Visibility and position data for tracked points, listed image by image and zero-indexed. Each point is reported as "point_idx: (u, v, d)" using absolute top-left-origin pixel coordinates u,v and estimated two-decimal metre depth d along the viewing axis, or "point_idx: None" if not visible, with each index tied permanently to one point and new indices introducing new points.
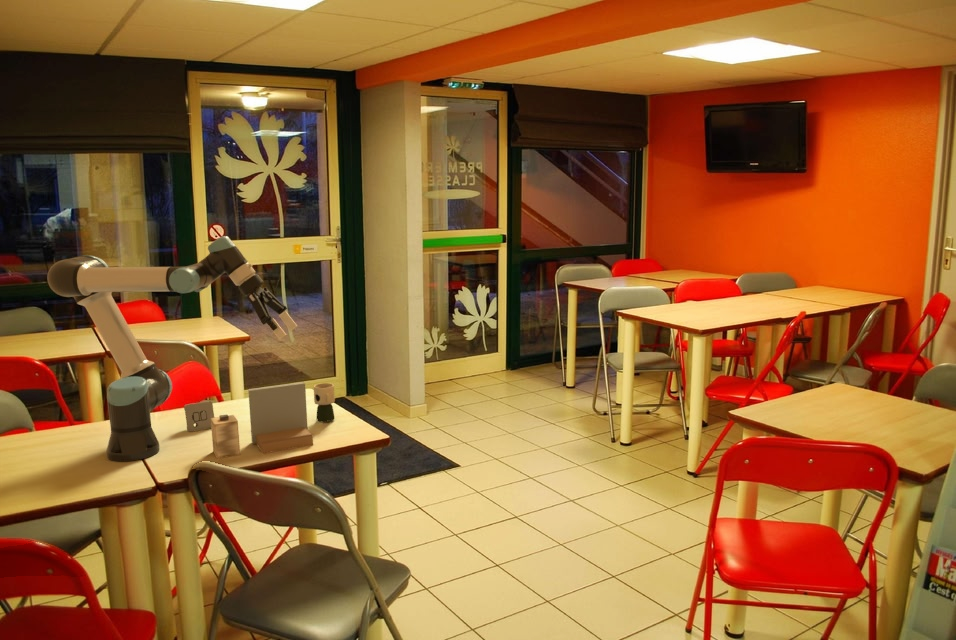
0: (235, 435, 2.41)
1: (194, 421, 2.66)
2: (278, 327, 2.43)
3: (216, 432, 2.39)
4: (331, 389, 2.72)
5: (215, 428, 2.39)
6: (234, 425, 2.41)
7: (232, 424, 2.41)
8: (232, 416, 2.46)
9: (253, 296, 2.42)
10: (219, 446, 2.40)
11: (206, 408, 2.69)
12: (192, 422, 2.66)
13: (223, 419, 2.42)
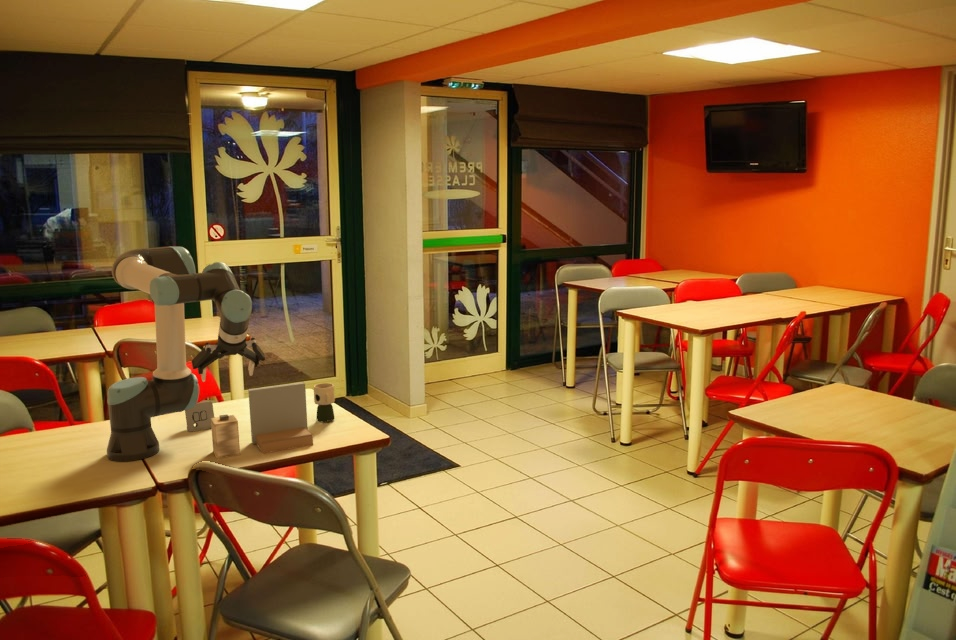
0: (235, 435, 2.41)
1: (194, 421, 2.66)
2: (202, 374, 2.25)
3: (216, 432, 2.39)
4: (331, 389, 2.72)
5: (215, 428, 2.39)
6: (234, 425, 2.41)
7: (232, 424, 2.41)
8: (232, 416, 2.46)
9: (206, 350, 2.16)
10: (219, 446, 2.40)
11: (206, 408, 2.69)
12: (192, 422, 2.66)
13: (223, 419, 2.42)
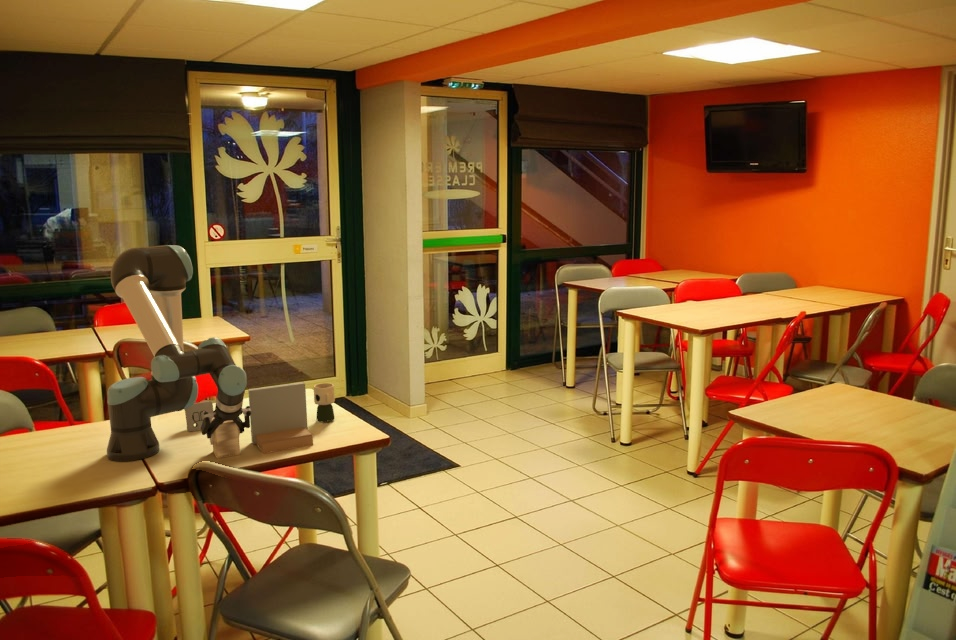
0: (235, 435, 2.41)
1: (194, 421, 2.66)
2: (211, 439, 2.43)
3: (216, 432, 2.39)
4: (331, 389, 2.72)
5: None
6: (234, 425, 2.41)
7: (232, 424, 2.41)
8: None
9: (205, 419, 2.32)
10: (219, 446, 2.40)
11: (206, 408, 2.69)
12: (192, 422, 2.66)
13: None
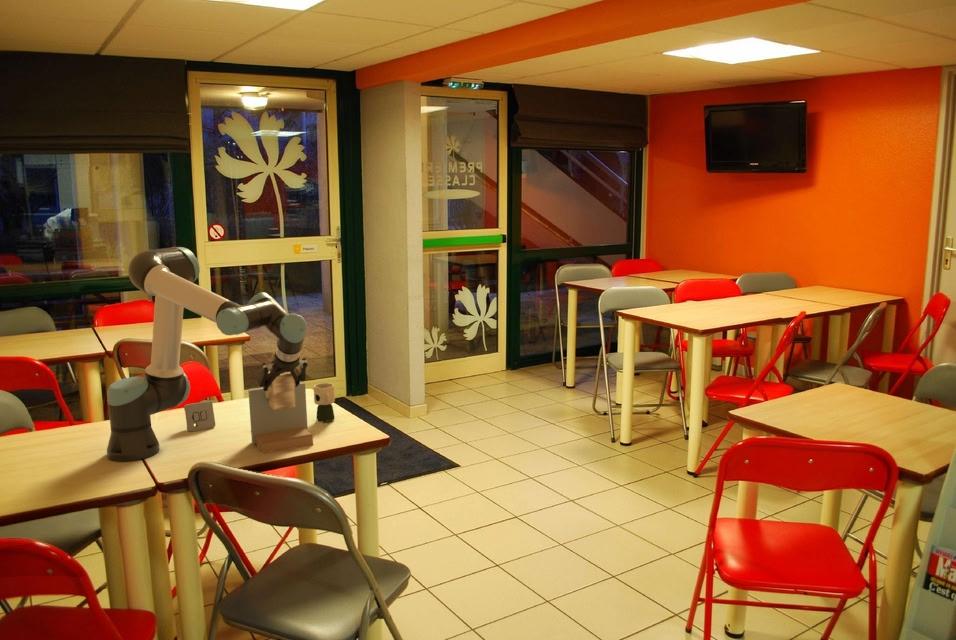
0: (291, 387, 2.46)
1: (194, 421, 2.66)
2: (267, 391, 2.48)
3: (273, 384, 2.44)
4: (331, 389, 2.72)
5: None
6: (290, 377, 2.46)
7: (288, 376, 2.46)
8: None
9: (263, 370, 2.37)
10: (276, 398, 2.45)
11: (206, 408, 2.69)
12: (192, 422, 2.66)
13: None
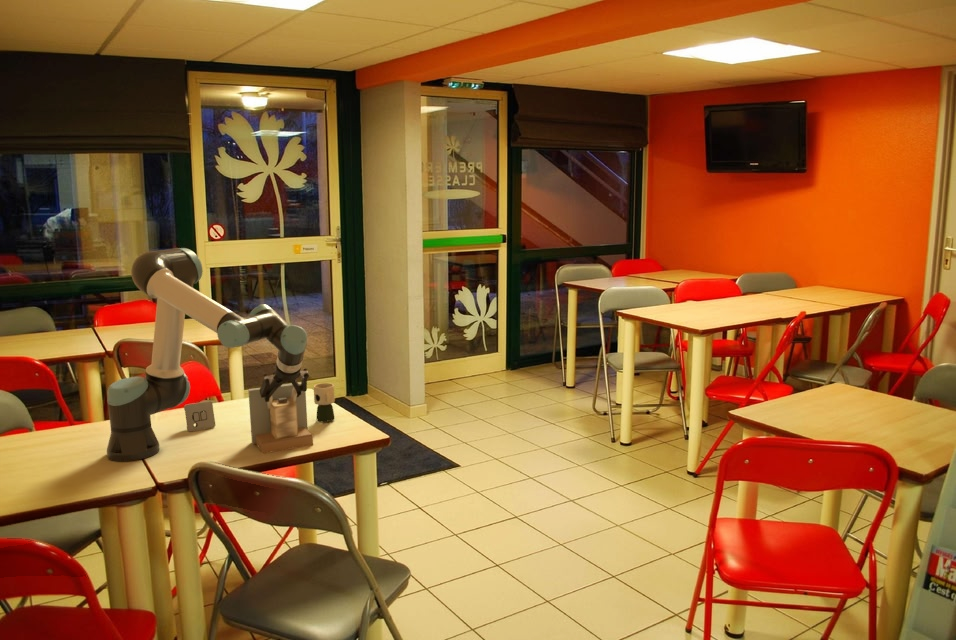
0: (293, 417, 2.49)
1: (194, 421, 2.66)
2: (269, 402, 2.48)
3: (276, 414, 2.46)
4: (331, 389, 2.72)
5: (275, 410, 2.46)
6: (293, 407, 2.48)
7: (291, 406, 2.48)
8: (290, 399, 2.53)
9: (265, 381, 2.38)
10: (278, 428, 2.47)
11: (206, 408, 2.69)
12: (192, 422, 2.66)
13: (282, 402, 2.49)
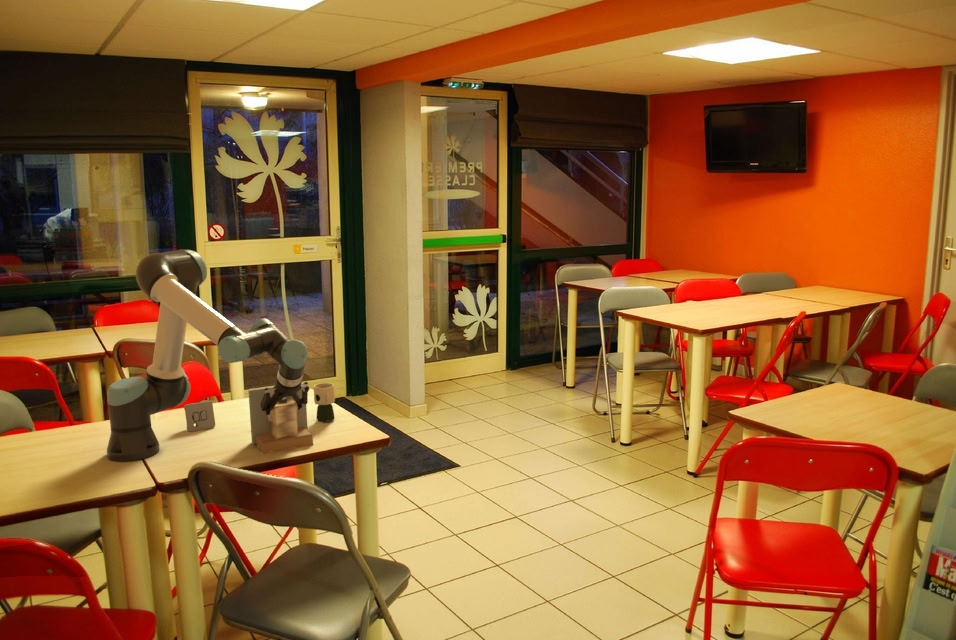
0: (293, 417, 2.49)
1: (194, 421, 2.66)
2: (269, 415, 2.49)
3: (276, 414, 2.46)
4: (331, 389, 2.72)
5: (275, 410, 2.46)
6: (293, 407, 2.48)
7: (291, 406, 2.48)
8: (290, 399, 2.53)
9: (265, 395, 2.39)
10: (278, 428, 2.47)
11: (206, 408, 2.69)
12: (192, 422, 2.66)
13: (282, 402, 2.49)
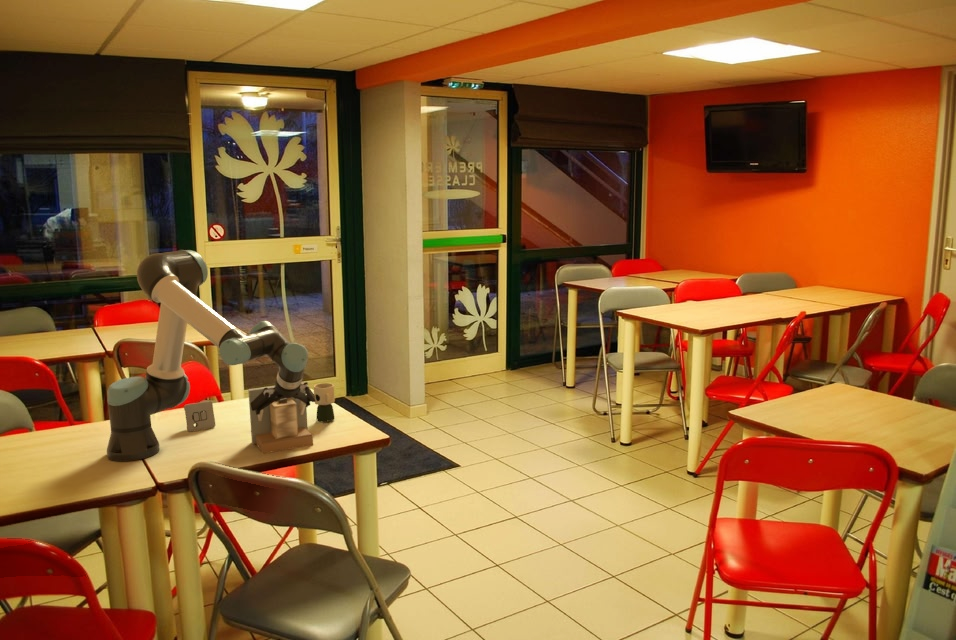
0: (293, 417, 2.49)
1: (194, 421, 2.66)
2: (259, 415, 2.47)
3: (276, 414, 2.46)
4: (331, 389, 2.72)
5: (275, 410, 2.46)
6: (293, 407, 2.48)
7: (291, 406, 2.48)
8: (290, 399, 2.53)
9: (264, 394, 2.38)
10: (278, 428, 2.47)
11: (206, 408, 2.69)
12: (192, 422, 2.66)
13: (282, 402, 2.49)
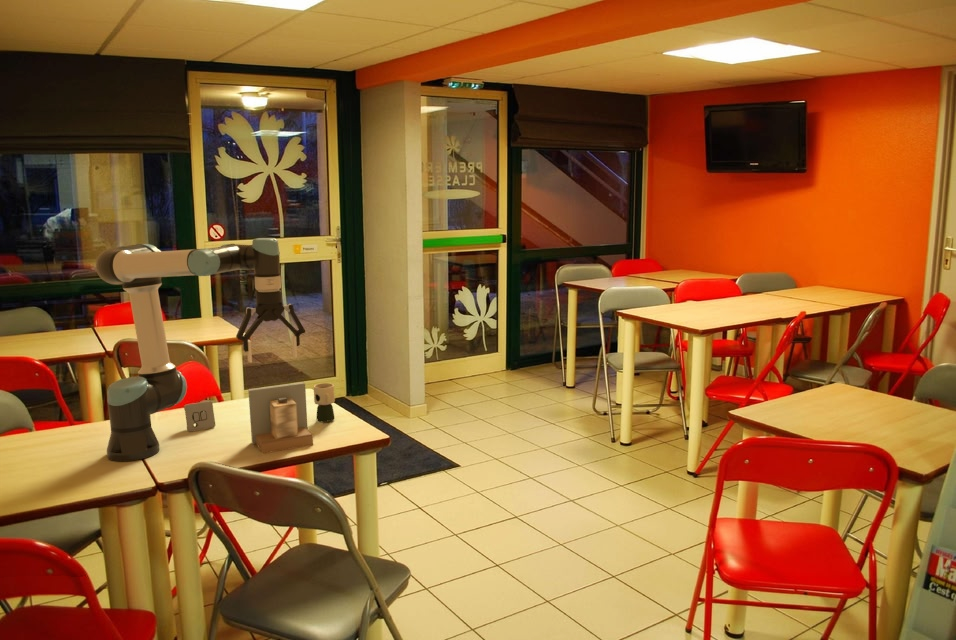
0: (293, 417, 2.49)
1: (194, 421, 2.66)
2: (248, 352, 2.32)
3: (276, 414, 2.46)
4: (331, 389, 2.72)
5: (275, 410, 2.46)
6: (293, 407, 2.48)
7: (291, 406, 2.48)
8: (290, 399, 2.53)
9: (246, 311, 2.30)
10: (278, 428, 2.47)
11: (206, 408, 2.69)
12: (192, 422, 2.66)
13: (282, 402, 2.49)
